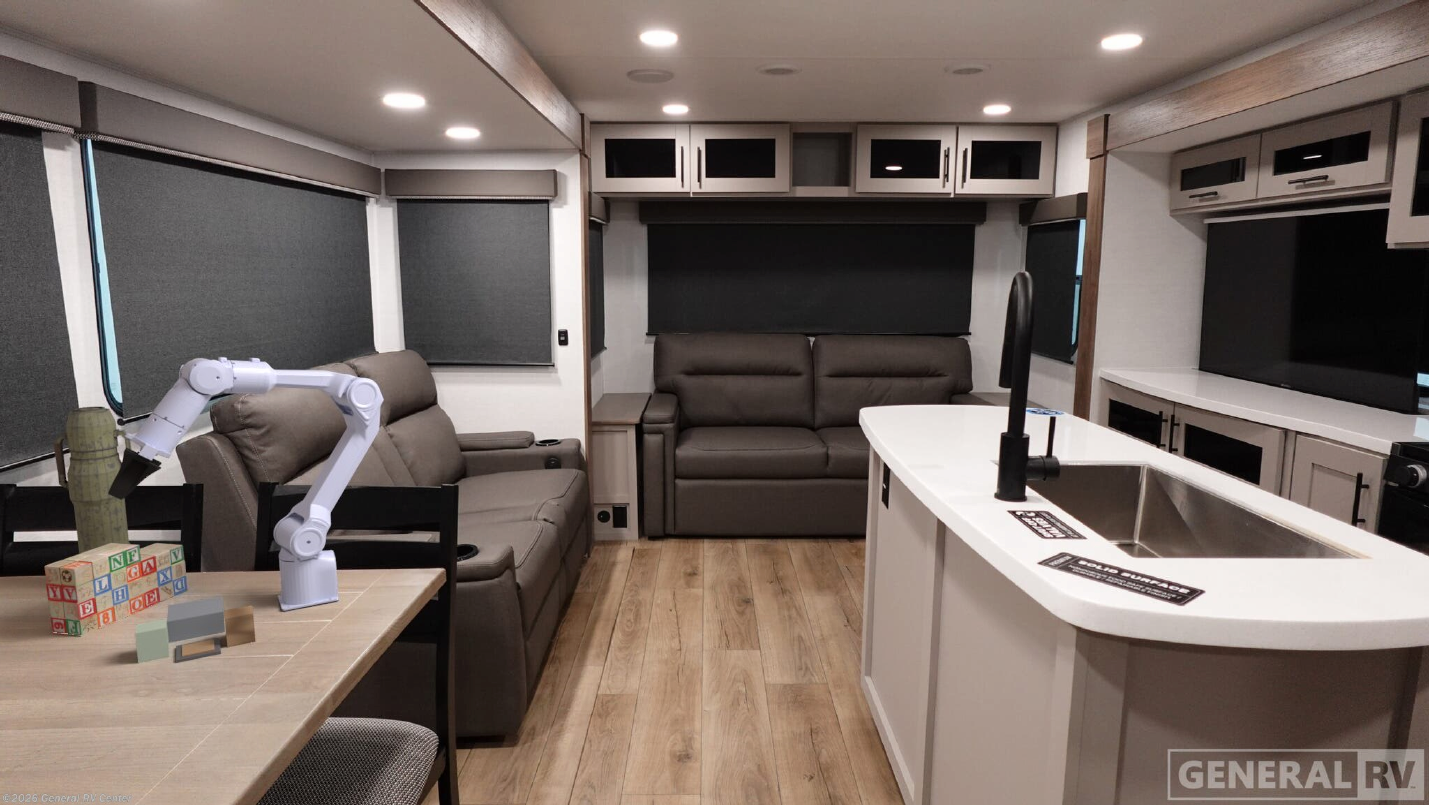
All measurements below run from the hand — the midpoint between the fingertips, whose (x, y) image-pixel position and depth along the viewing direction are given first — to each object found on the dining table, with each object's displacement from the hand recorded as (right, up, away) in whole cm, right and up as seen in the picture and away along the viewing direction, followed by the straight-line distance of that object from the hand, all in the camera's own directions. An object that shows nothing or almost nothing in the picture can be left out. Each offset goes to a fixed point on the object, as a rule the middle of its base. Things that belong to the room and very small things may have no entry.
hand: (115, 494), depth 128 cm
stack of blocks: (-12, -23, +17) cm, 31 cm away
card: (+12, -26, +2) cm, 28 cm away
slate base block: (+7, -25, +10) cm, 27 cm away
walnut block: (+17, -25, +6) cm, 31 cm away
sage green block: (+6, -26, 0) cm, 27 cm away
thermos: (-24, -21, +30) cm, 44 cm away
